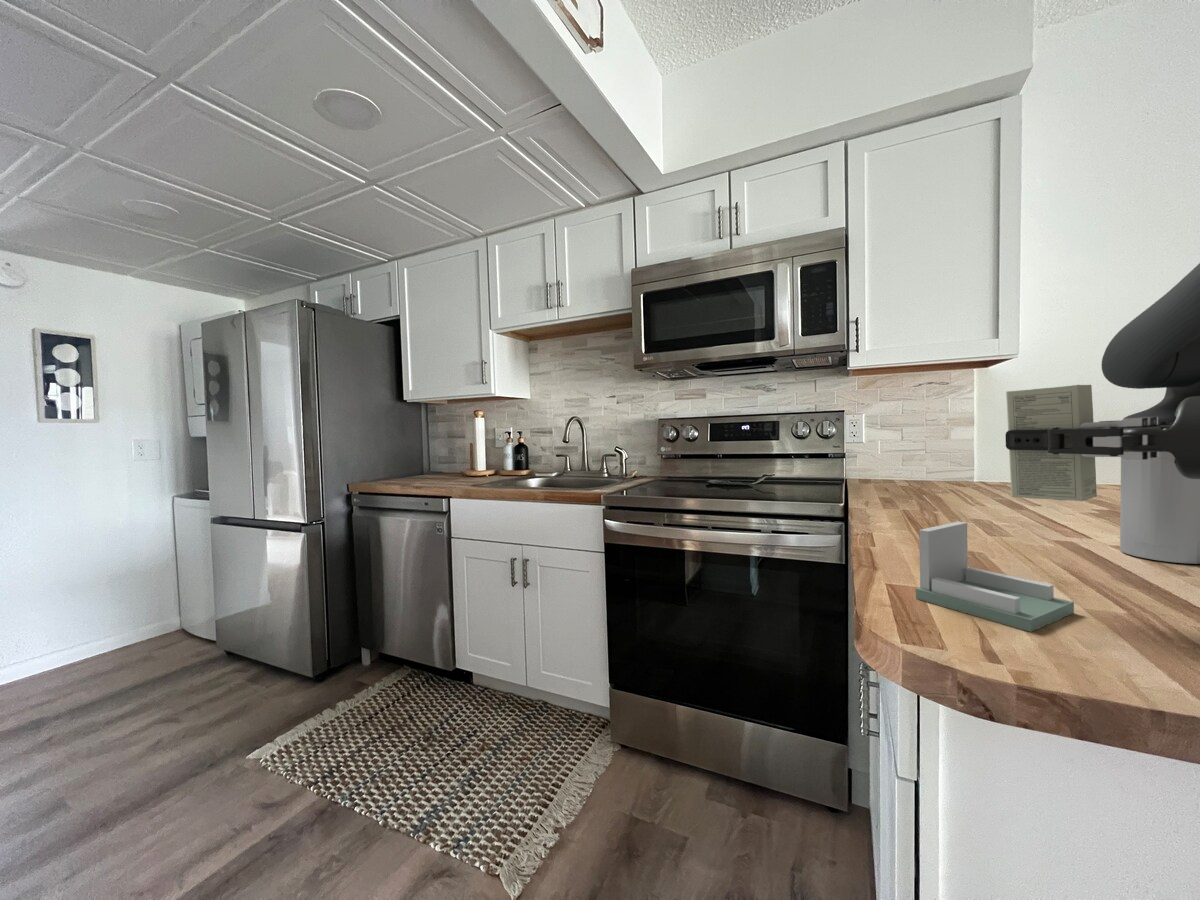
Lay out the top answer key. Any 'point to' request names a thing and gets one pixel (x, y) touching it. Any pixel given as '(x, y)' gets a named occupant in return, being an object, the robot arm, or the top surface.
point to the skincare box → (1038, 468)
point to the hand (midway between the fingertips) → (1019, 438)
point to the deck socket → (981, 584)
